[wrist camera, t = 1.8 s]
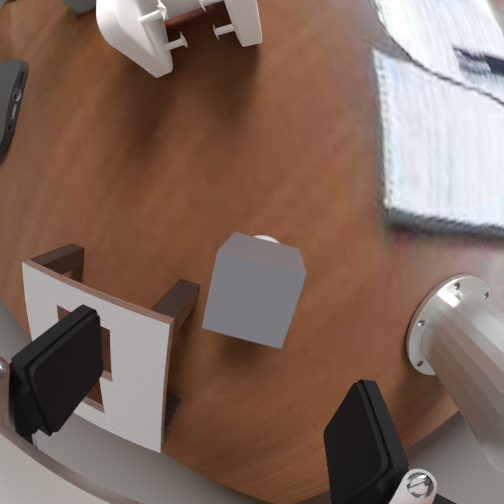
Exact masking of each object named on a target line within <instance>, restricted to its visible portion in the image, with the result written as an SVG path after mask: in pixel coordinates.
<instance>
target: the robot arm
mask: <svg viewBox="0 0 504 504" xmlns="http://www.w3.org/2000/svg"><path fill="white" fill-rule="evenodd" d="M406 351H407V355H408V358H409V360H410V362H411V363H412V365H413V366H414V368H415V369H416V370H418V371H419V372H420V373H423V374H426V375H437V377H438V378H439V380H440V381H441V383H442V384H443V386H444V387H445V389H446V390H447V392H448V394H449V395H450V397H451V398H452V400H453V401H454V403H455V405H456V406H457V408H458V409H459V411H460V413H461V414H462V416H463V417H464V419H465V421H466V422H467V424H468V426H469V427H470V429H471V431H472V433H473V435H474V436H475V438H476V440H477V441H478V443H479V445H480V446H481V448H482V450H483V452H484V454H485V456H486V458H487V459H488V460H489V462H490V464H491V465H492V466H493V467H494V468H495V469H497V470H498V471H500V472H503V473H504V312H503V311H501V310H500V309H498V308H497V307H496V306H494V305H493V299H492V295H491V291H490V289H489V287H488V286H487V284H486V283H485V282H484V281H483V280H481V279H479V278H478V277H476V276H473V275H471V274H461V275H456V276H453V277H451V278H449V279H447V280H445V281H444V282H442V283H441V284H439V285H438V286H437V287H436V288H434V289H433V290H432V291H431V292H430V293H429V294H428V295H427V297H426V298H425V299H424V300H423V301H422V303H421V304H420V306H419V307H418V309H417V310H416V312H415V314H414V316H413V318H412V320H411V323H410V326H409V329H408V332H407V338H406ZM11 360H12V362H11V363H10V364H8V362H7V361H6V360H5V359H4V358H2V357H0V504H142V503H139V502H137V501H134V500H132V499H129V498H127V497H124V496H122V495H120V494H117V493H115V492H113V491H111V490H109V489H107V488H104V487H102V486H100V485H98V484H96V483H94V482H92V481H90V480H89V479H87V478H84V477H83V476H81V475H79V474H77V473H76V472H74V471H72V470H71V469H69V468H67V467H65V466H64V465H62V464H61V463H59V462H57V461H56V460H54V459H52V458H51V457H50V456H48V455H47V454H45V453H44V452H42V451H41V450H39V449H38V448H37V442H36V435H35V433H36V432H37V430H38V429H39V430H41V431H42V432H44V433H45V434H47V435H48V436H51V435H52V433H53V432H58V431H59V430H60V428H61V427H62V426H63V425H64V423H65V422H66V421H67V419H68V418H69V417H70V415H71V414H72V413H73V412H74V410H75V409H76V408H77V406H78V405H79V404H80V403H81V401H82V400H83V399H84V398H85V396H86V395H87V394H88V393H89V391H90V390H91V389H92V387H93V386H94V385H95V384H96V383H97V381H98V380H99V379H100V377H101V376H102V373H103V361H102V347H101V326H100V316H99V315H98V314H97V311H96V310H95V309H93V308H91V307H88V306H86V305H83V304H82V305H80V306H79V307H77V308H76V309H75V310H73V311H72V312H71V313H69V314H68V315H66V316H65V317H64V318H62V319H61V320H60V321H58V322H57V323H56V324H54V325H53V326H52V327H50V328H49V329H48V330H47V331H45V332H44V333H43V334H41V335H40V336H39V337H37V338H36V339H35V340H34V341H32V342H31V343H30V344H29V345H27V346H26V347H25V348H24V349H22V350H21V351H20V352H19V353H17V354H16V355H15V356H14V357H13V358H12V359H11ZM324 444H325V451H326V458H327V466H328V474H329V483H330V491H331V500H332V504H456V503H454V502H452V501H450V500H448V499H446V498H444V497H442V496H441V495H439V494H437V493H436V491H437V483H436V480H435V478H434V477H433V476H432V475H431V474H430V473H429V472H427V471H425V470H422V469H413V470H411V471H409V470H408V466H409V464H408V461H407V458H406V455H405V453H404V450H403V447H402V445H401V442H400V439H399V437H398V434H397V432H396V429H395V427H394V424H393V422H392V419H391V417H390V414H389V412H388V409H387V407H386V404H385V402H384V400H383V397H382V395H381V393H380V390H379V388H378V386H377V383H376V382H375V381H371V380H359V381H358V382H357V383H354V384H353V385H352V387H351V388H350V390H349V392H348V393H347V395H346V397H345V398H344V400H343V402H342V403H341V405H340V406H339V408H338V410H337V411H336V413H335V414H334V416H333V417H332V419H331V420H330V422H329V423H328V425H327V426H326V428H325V430H324Z"/></svg>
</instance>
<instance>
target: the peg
mask: <svg viewBox="0 0 504 504" xmlns="http://www.w3.org/2000/svg"><path fill="white" fill-rule="evenodd" d="M306 275H307V274H306V270H305V267H304V263H303V260H302V256H301V253H300V250H299V249H298V248H294V247H290V246H287V245H283V244H281V243H280V242H279V241H278V240H276V239H275V238H273V237H271V236H268V235H255V236H249V235H245V234H241V233H237V232H234V233H233V234H232V235H231V236H230V238H229V239H228V240H227V241H226V242H225V243H224V244H223V245H222V246H221V248H220V249H219V250H218V251H217V256H216V261H215V265H214V270H213V275H212V279H211V284H210V289H209V294H208V299H207V304H206V309H205V314H204V319H203V324H202V328H204V329H208V330H211V331H214V332H218V333H221V334H225V335H229V336H232V337H236V338H240V339H244V340H247V341H251V342H255V343H259V344H263V345H267V346H272V347H276V348H280V349H281V348H282V345H283V342H284V339H285V337H286V334H287V331H288V328H289V326H290V323H291V320H292V317H293V314H294V311H295V308H296V305H297V302H298V299H299V296H300V293H301V290H302V287H303V284H304V281H305V278H306Z"/></svg>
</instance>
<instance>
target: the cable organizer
mask: <svg viewBox="0 0 504 504" xmlns="http://www.w3.org/2000/svg"><path fill="white" fill-rule="evenodd" d="M222 1H224V2H225V5H226V8H227V10H228V13H229V16H230V19H231V22H232V24H230V25H226V26H222V27H219V28H216V29H215V27H214V25H213V28H214V33H215V35H216V36H217V38H218V39H219V37H218V35H221V34H225V33H228V32H232V31H235V33H236V35H237V38H238V40H239V42H240V43H241V45H242V46H243V47H246V46H250V45H254V44H259V43H262V32H261V26H260V19H259V12H258V6H257V0H97V2H96V17H97V23H98V26H99V29H100V31H101V33H102V35H103V37H104V38H105V40H106V41H107V42H108V43H109V44H110V45H111V46H113V47H114V48H116V49H117V50H119V51H120V52H122V53H123V54H124V55H126V56H127V57H129V58H130V59H131V60H133V61H134V62H136V63H137V64H138V65H140V66H141V67H142V68H144V69H145V70H146V71H148V72H149V73H150V74H152V75H153V76H154V77H157V78H158V77H160V76H163V75H165V74H168V73H170V72H172V69H173V62H172V56H171V52H170V50H172V49H174V48H177V47H179V46H182V45H185V47H186V46H187V47H188V45H187V42H186V39H185V38H184V37H183V35H182V34H181V37H180V39H178V40H175V41H173V42H170V43H169V42H168V37H167V32H166V27H165V22H164V21H165V20H168V21H169V19H171V18H173V17H176V16H178V15H181V14H184V13H187V12H189V11H192V10H195V9H198V8H201V7H202V8H203V9H204V10H205V8H204V6H208V5H211V4H214V3H218V2H222ZM205 11H206V10H205ZM180 33H181V32H180Z"/></svg>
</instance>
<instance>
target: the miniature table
mask: <svg viewBox="0 0 504 504" xmlns="http://www.w3.org/2000/svg"><path fill="white" fill-rule="evenodd" d="M83 255H84V248H83V247H80V246H77V245H75V244H72V243H71V244H69V245H66V246H63V247H60V248H58V249H55V250H52V251H50V252H47V253H45V254H42V255H39V256H37V257H34V258H32V259H29V260H27V261H24V262H22V266H23V280H24V290H25V299H26V307H27V314H28V320H29V326H30V331H31V337H32V341H34V340H35V339H36V338H37V337H39V336H40V335H41V334H43V333H44V332H45V331H47V330H48V329H49V328H50V327H52V326H53V325H54V324H56V323H57V322H58V321H60V320H61V319H62V318H64V317H65V315H64V309H66V310H68V311H70V312H72V311H73V310H75V309H76V308H77V307H79V306H80V305H82V304H83V305H86V306H88V307H91V308H93V309H95V310H96V311H97V314H98V315H99V316H100V326H102V327H104V328H107V329H109V330H110V350H111V368H112V373H110V372H107V371H105V370H104V371H103V373H102V376H101V377H100V386H101V394H102V400H103V405H102V404H100V403H98V402H96V401H94V400H92V399H90V398H88V397H87V396H85V398H84V399H83V400H82V401H81V403H80V404H79V405H78V406H77V408H76V409H75V410H74V413H76V414H77V415H79V416H81V417H83V418H85V419H86V420H88V421H90V422H92V423H94V424H96V425H97V426H99V427H101V428H103V429H105V430H108V431H109V432H111V433H114V434H116V435H118V436H120V437H122V438H124V439H127V440H129V441H131V442H134V443H136V444H138V445H141V446H143V447H146V448H148V449H151V450H153V451H156V452H159V453H161V450H162V448H163V446H164V443H165V441H166V439H167V437H168V434H169V432H170V430H171V427H172V425H173V423H174V420H175V418H176V416H177V414H178V411H179V409H180V404H181V398H179V397H176V396H173V395H170V394H167V393H166V391H167V380H168V370H169V360H170V351H171V343H172V339H173V337H174V336H175V334H176V333H177V331H178V330H179V328H180V327H181V325H182V324H183V322H184V321H185V319H186V318H187V316H188V315H189V313H190V312H191V311H192V309H193V308H194V306H195V305H196V303H197V297H198V292H199V287H200V285H199V284H195V283H192V282H188V281H185V280H182V279H180V280H179V281H178V282H177V283H176V284H175V285H174V286H173V287H172V288H171V289H170V290H169V291H168V292H167V293H166V294H165V295H164V296H163V297H162V298H161V299H160V300H159V301H158V302H157V303H156V304H155V305H154V306H153V307H152V308H151V310H149V309H146V308H143V307H140V306H138V305H135V304H132V303H129V302H127V301H124V300H121V299H119V298H116V297H113V296H111V295H108V294H106V293H103V292H101V291H98V290H96V289H93V288H91V287H89V286H86V285H84V284H81V283H79V282H77V281H74V280H72V279H70V278H68V277H65V276H63V274H65V273H67V272H69V271H71V270H73V269H75V268H77V267H79V266H81V265H83Z"/></svg>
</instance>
